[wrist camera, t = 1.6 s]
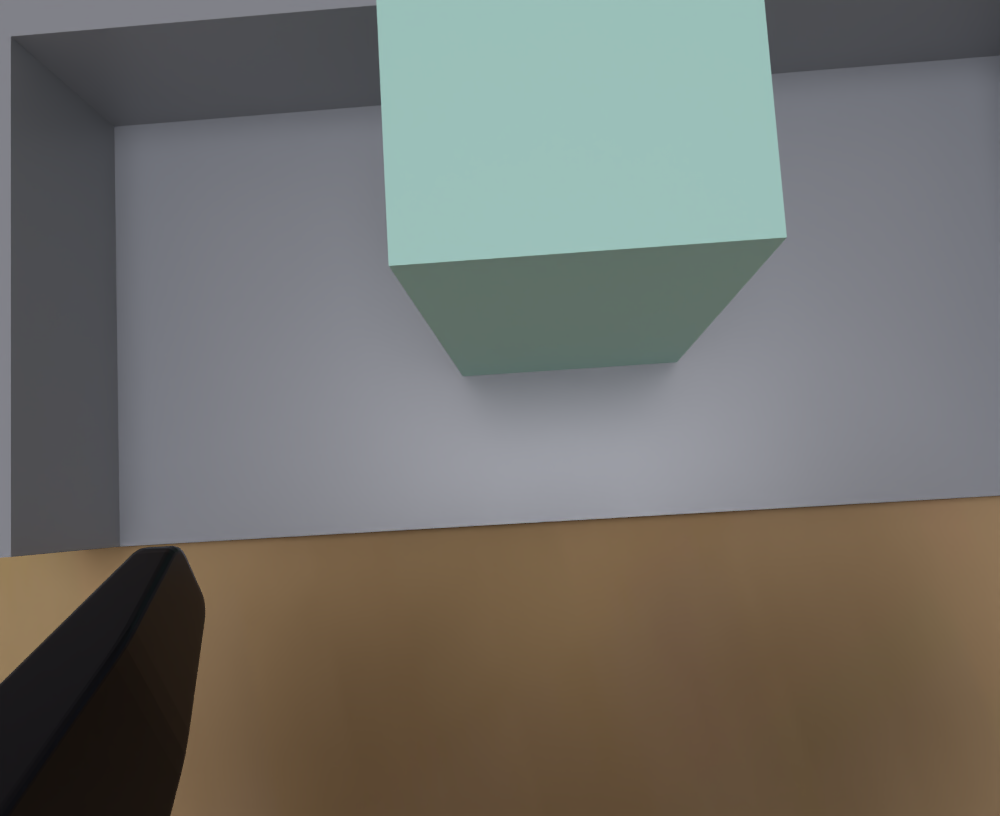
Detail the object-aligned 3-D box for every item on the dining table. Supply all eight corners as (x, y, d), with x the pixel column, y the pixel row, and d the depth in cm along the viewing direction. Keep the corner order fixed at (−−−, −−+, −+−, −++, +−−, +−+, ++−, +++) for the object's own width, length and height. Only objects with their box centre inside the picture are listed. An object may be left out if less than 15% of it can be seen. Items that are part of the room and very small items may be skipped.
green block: (677, 362, 21) (786, 237, 11) (462, 376, 22) (389, 265, 12) (660, 155, 22) (751, -136, 12) (451, 171, 22) (371, -102, 12)
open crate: (1100, 489, 21) (1270, 483, 16) (83, 548, 22) (-52, 560, 17) (1039, 16, 22) (1178, -124, 17) (79, 94, 24) (-48, -15, 19)
